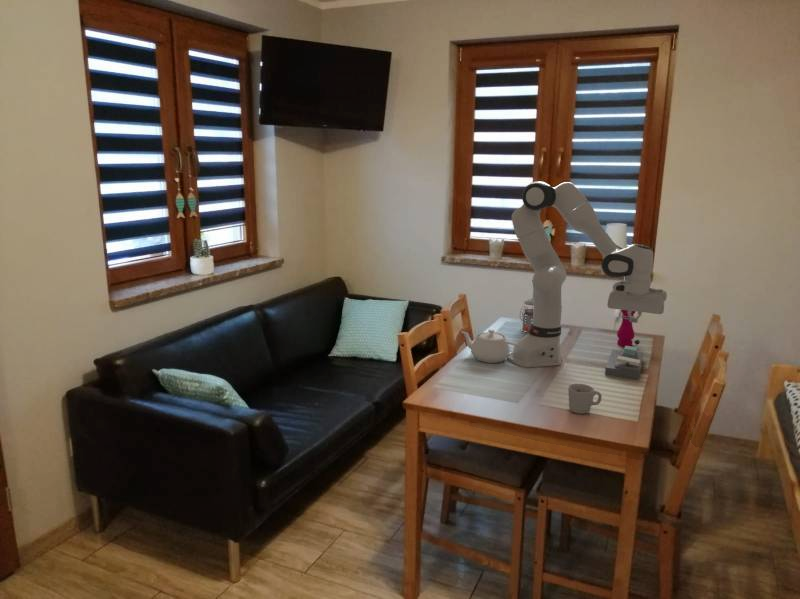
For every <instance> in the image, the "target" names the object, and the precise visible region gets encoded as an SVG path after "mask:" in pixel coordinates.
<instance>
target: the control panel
mask: <svg viewBox="0 0 800 599" xmlns="http://www.w3.org/2000/svg"><path fill="white" fill-rule="evenodd" d="M644 355H645V354H644V353H643V352H642V353H640V352H638V351H637V354H636V356H630V355H624V349H623V350H619V349H612V350H611V353H610V356H609V358H608V360H607V362H606V366H605V368H604V369H605V371H604V375H605V376H611V377H617V378H623V379H624V378H625V379H629V380H636V381H639V380H640V376H641V371H642V366H643V362H644ZM618 356H623V357H628V358H633V359H638V360H640V364H639V366H636V365H631V364H629V365H628V366H627V365H626V363H621V362H617V357H618Z"/></svg>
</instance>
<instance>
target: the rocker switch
mask: <svg viewBox="0 0 800 599" xmlns="http://www.w3.org/2000/svg"><path fill="white" fill-rule="evenodd" d="M617 362H621V363H626V365H627V366H628V365H629V364H631V365H636V366H639V364H640V360H638V359H633V358H628V357H623V356H618V357H617Z"/></svg>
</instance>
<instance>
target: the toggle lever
mask: <svg viewBox="0 0 800 599" xmlns="http://www.w3.org/2000/svg"><path fill="white" fill-rule="evenodd" d="M640 343H641V342H640V340H639V339H635V340H634V343H633V345H632V347H637V346H638V345H640Z"/></svg>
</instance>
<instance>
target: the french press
mask: <svg viewBox="0 0 800 599" xmlns="http://www.w3.org/2000/svg"><path fill="white" fill-rule="evenodd" d="M531 282H532V283H533V279H532V280H531ZM523 303H524V306H522V308H521V309H520V311H519V314H521V312H522V314H521V316H519V318H520V320H521V322H522V327H521V329H522V330H523V331H526V332H528V331H527V330H524V326H525V325H527V326H529V327H530V326H531V324H532V323H533V308H534V301H533V298H531V299H529V298H528V299H526V300H524V301H523ZM526 305H527V306H526ZM528 306H531V308H529V307H528ZM522 310H523V311H522Z"/></svg>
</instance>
